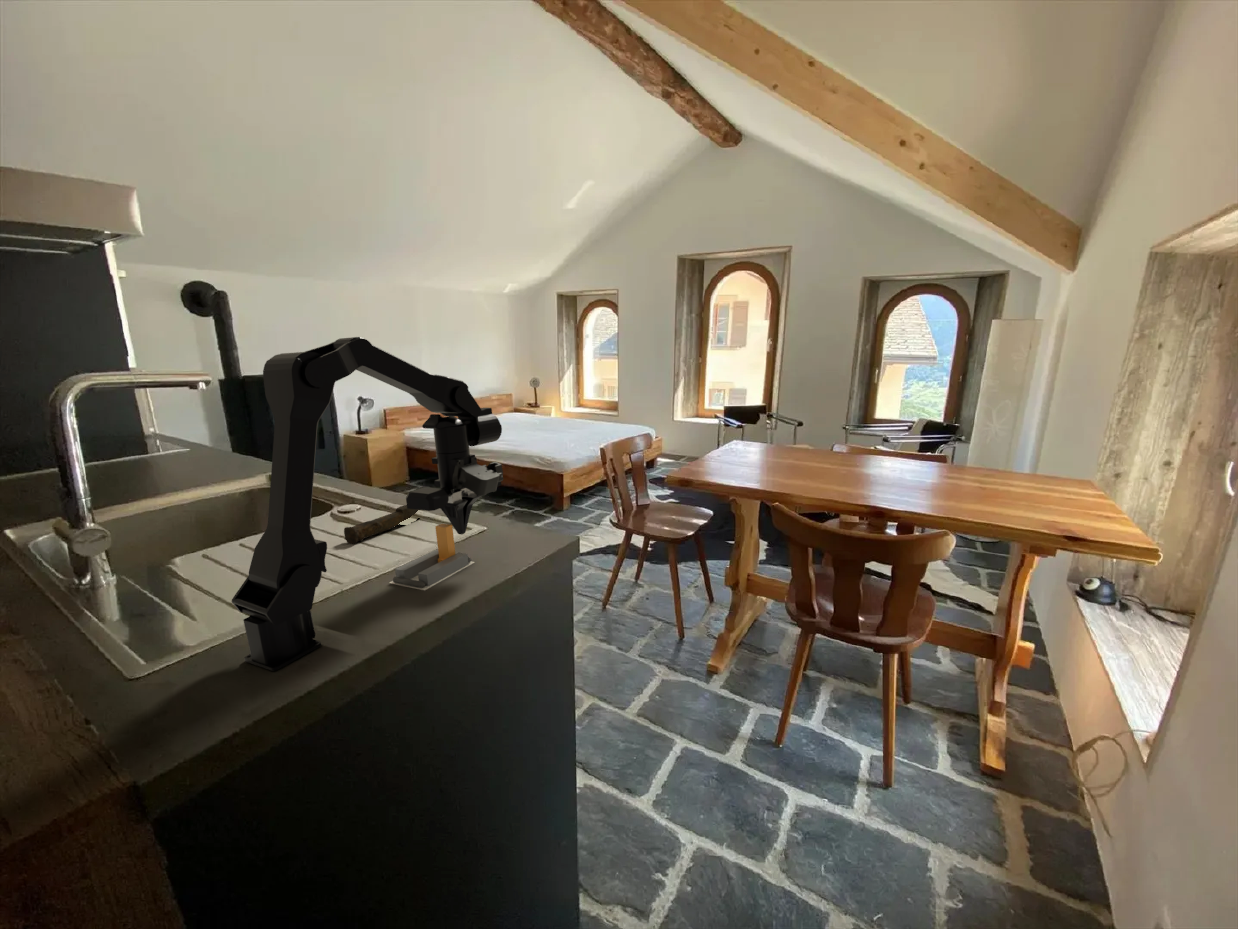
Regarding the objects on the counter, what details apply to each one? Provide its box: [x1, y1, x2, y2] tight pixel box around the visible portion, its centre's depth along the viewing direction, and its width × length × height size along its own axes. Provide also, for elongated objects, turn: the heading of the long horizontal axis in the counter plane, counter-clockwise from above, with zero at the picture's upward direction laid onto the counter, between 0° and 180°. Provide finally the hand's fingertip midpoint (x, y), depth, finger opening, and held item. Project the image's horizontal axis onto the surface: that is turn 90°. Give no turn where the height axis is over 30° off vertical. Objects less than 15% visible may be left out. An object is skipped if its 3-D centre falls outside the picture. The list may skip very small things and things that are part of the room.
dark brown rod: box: [343, 504, 418, 545], centre depth 117 cm, size 19×4×5 cm, turn 149°
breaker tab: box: [435, 523, 456, 563], centre depth 91 cm, size 2×2×7 cm
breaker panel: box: [388, 548, 476, 591], centre depth 89 cm, size 12×8×4 cm, turn 155°
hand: (461, 533), depth 95 cm, fingers closed
